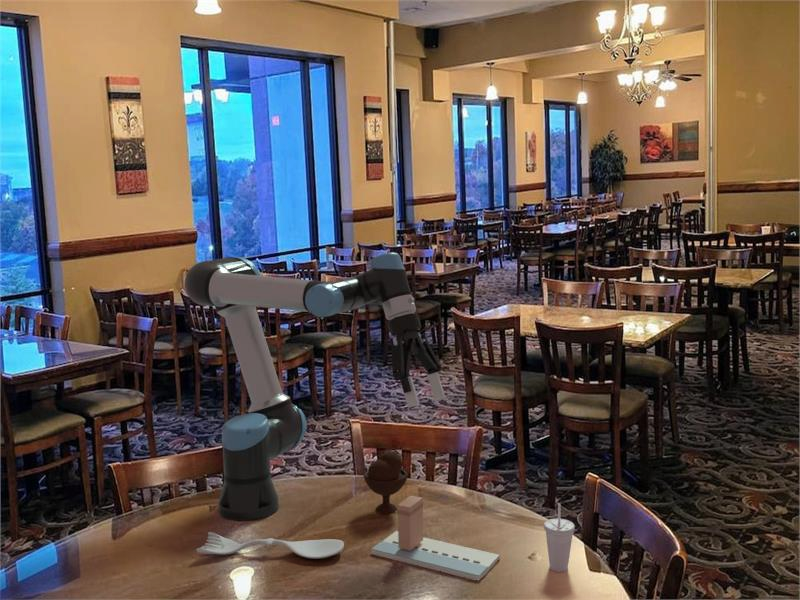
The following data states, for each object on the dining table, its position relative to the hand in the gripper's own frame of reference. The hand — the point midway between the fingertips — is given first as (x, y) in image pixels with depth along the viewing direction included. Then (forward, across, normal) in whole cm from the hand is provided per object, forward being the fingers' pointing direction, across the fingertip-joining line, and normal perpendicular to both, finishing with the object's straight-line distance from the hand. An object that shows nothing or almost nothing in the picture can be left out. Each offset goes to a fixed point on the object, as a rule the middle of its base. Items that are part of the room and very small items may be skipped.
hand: (427, 403), depth 186 cm
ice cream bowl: (+22, +8, +24) cm, 34 cm away
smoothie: (+42, -2, -20) cm, 46 cm away
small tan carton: (+29, -9, +9) cm, 32 cm away
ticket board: (+33, -9, +4) cm, 34 cm away
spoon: (+23, -24, +36) cm, 49 cm away
